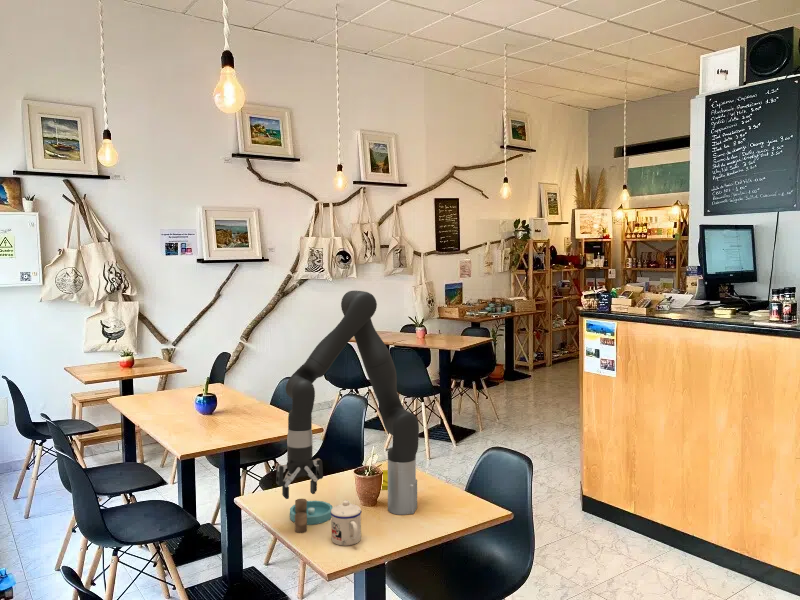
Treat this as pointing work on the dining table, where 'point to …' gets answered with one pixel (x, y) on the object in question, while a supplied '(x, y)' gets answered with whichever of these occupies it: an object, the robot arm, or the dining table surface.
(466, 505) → the dining table surface
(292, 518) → the groove tray
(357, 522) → the teacup with lid
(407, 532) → the dining table surface
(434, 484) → the dining table surface
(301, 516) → the walnut bead
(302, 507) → the walnut bead
